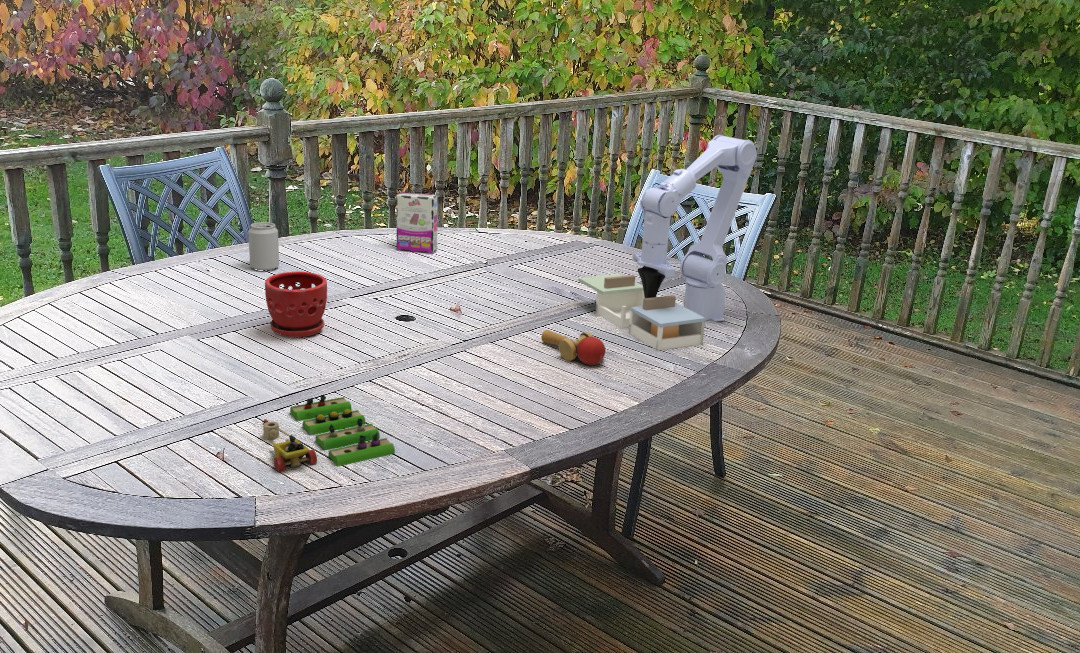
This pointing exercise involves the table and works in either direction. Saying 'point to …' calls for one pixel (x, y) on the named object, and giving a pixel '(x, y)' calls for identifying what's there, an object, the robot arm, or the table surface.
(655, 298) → the lid
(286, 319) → the plant pot
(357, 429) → the toy garden set
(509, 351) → the table surface
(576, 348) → the kendama
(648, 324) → the crate
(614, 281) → the lid
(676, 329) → the block
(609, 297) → the crate
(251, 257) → the can
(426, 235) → the candy bar box
